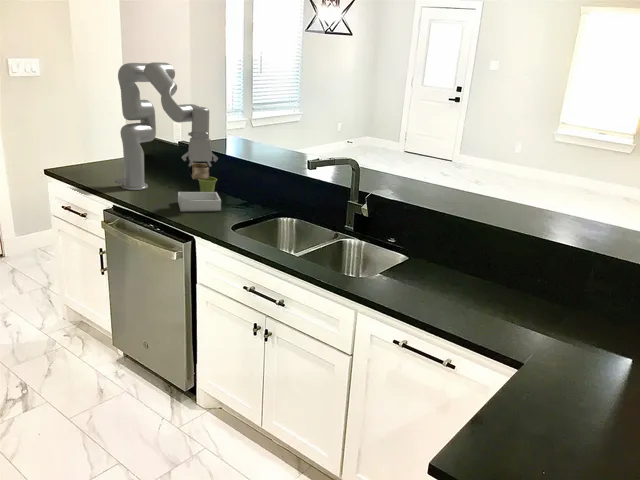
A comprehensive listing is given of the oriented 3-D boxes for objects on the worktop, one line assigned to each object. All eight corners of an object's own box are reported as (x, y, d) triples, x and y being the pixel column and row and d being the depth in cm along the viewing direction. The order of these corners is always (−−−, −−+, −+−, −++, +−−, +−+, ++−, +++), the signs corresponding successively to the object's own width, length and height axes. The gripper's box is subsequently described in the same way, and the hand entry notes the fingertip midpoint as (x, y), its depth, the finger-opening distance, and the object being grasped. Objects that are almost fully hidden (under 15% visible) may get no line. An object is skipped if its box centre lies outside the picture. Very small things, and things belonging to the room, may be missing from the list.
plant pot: (193, 196, 268) (193, 179, 265) (203, 192, 276) (204, 175, 273) (210, 199, 265) (210, 182, 262) (220, 195, 273) (220, 178, 270)
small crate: (193, 179, 242) (193, 168, 240) (190, 173, 251) (190, 163, 249) (208, 179, 244) (209, 168, 243) (206, 173, 253) (206, 163, 251)
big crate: (180, 211, 243) (180, 200, 242) (177, 202, 256) (177, 192, 254) (220, 211, 249) (221, 200, 248) (216, 202, 262) (216, 192, 260)
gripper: (181, 136, 235) (180, 176, 241) (221, 137, 241) (220, 176, 247) (179, 133, 242) (179, 172, 248) (218, 134, 247) (217, 172, 253)
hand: (199, 174), depth 247 cm, fingers closed on small crate, 7 cm apart
